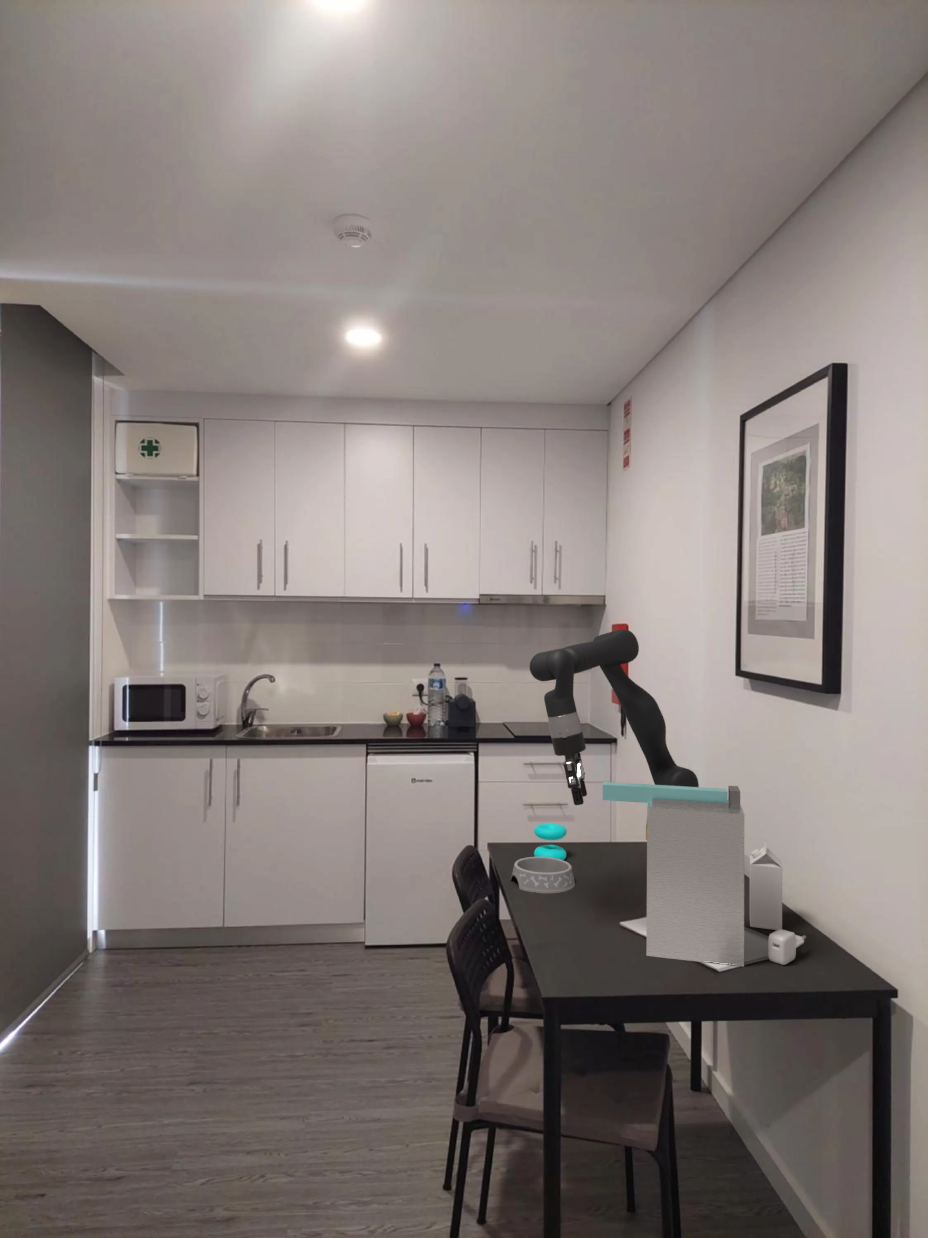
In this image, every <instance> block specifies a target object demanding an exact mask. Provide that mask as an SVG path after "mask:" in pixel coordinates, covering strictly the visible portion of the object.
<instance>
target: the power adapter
mask: <svg viewBox="0 0 928 1238" xmlns="http://www.w3.org/2000/svg"><path fill="white" fill-rule="evenodd" d="M767 938H768V941H767V943H768V944H767V946H768V947H767V952H768V953H767V957H768V960H769V961H770V962H773V963H775V964H777V965H779V964H780V965H782V966H783V965H784V966H785V965H787V964H790V963H791V962H793V961H794V960H795V959H796V955H797V948H799V947H800V946H802V945H804V943H805V939H807V936H806V935H802V936H800V935H797V934H795V932H794V931H789V930H786V929H783V928H782V929H779V930H774V931H773V932H772V933H769V936H768V937H767Z"/></svg>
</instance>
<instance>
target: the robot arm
mask: <svg viewBox="0 0 928 1238" xmlns="http://www.w3.org/2000/svg"><path fill="white" fill-rule="evenodd" d="M639 649H640V645H639V641H638V639H637V637H636V635H635V634H634V633H633V632H632V631H630V630H628V629H616V630H613V631H609V632H606V633H602V634H600V635H597V636H595V637H594V639H593V640H592V641H589V642H588V641H587V642H581V643H577V644H576V643H575V644H572V645H569V646H564V647H563V648H555V649H553V650H552V649H551V650H548V651H547V650H546V651H542V652H538V653H536V654H535V655H533V657H532V658H531V660H530V662H529V672H530V674H531V676H532V677H533V678H534V679H535V680H537V681H539V682H549V681H555V686H554V689H552V690H550V691H548V692H546V693H545V694H544V697H543V701H544V705H545V711H546V715H547V719H548V722H547V723H548V729H549V734H550V737H551V744H552V747H553V753H554V755H556V756H558V757H562V756H564V759H565V760H564V762H563V764H562V766H563V769H564V772H565V773H564V774H565V778H566V784H567V788H568V789H569V790H571V791H570V792H571V795H572V802H573V805H574V806H580V805H581V806H582V805H584V802H585V800H584V797H587V795H588V792H587V788H586V787H587V786H586V782H585V778H586V777H585V775H586V773H585V769H584V766H583V759H582V755H581V753H582V752H584V751H586V747H587V746H586V740H585V737H584V733H583V729H582V724H581V720H580V717H579V714H578V711H577V706H576V702H575V697H574V681H575V680H574V677H575V675H576V674H579V673H583V672H585V671H588V670H592V669H594V668H596V667H600V669H601V671H602V673H603V675H604V677H605V678H606V680H607V681H608V683H609V685H610V687H612V690H613V692H614V693H615V696H616V698H617V701H618V702H619V704H620V706H621V709H622V710H623V713H624V715H625V718H626V720H627V722H628V724H629V726H630V728H631V730H632V733H633V735H634V736H635V738H636V741H637V743H638V745H639V748H640V749H641V751H642V753H643V755H644V757H645V758H644V759H646V763H647V766H648V768H649V772H650V775H651V778H652V780H653V783H654V784H653V785H668V786H685V787H700V786H699V785H700V784H699V779H698V776H697V774H696V773H695V772H694V771H693V770H691V769H690V768H686V767H682V766H679V765H677V764H676V762H675V760H674V759H673V756H672V755H671V752H670V750H669V749H668V746H667V737H666V735H667V727H666V726H667V725H666V721H665V718H664V716H663V713H662V711H661V708H660V706H659V704H658V703H657V701H656V699H655V698H654V697H653V696H652V695H651V694H650V693H649V692H648V691H647V690H645V689H644V688H642V687H641V686H640V685H638V684H637V683H636V682H634V681H633V680H632V679H631V678H630V677H629V675H627V673H626V671H625V670H624V669H623V667H622V665H624V664H625V665H626V664H630V663H631V662H632V661H634V660H635V659H636V658H637V657H638V655H639V651H640V650H639Z"/></svg>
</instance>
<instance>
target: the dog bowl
mask: <svg viewBox="0 0 928 1238" xmlns="http://www.w3.org/2000/svg"><path fill="white" fill-rule="evenodd" d="M573 871H574V870H573V866H572V864H570V863H569V862H567V861H565V860H560V859H556V858H550V857H535V856H529V857H524V858H519V859H517V860H516V861H515V862H514V864H513V869H512V873H511V877H510V880H509V881H510V882H511V881H512V879H513V878H515V879H516V880H517V883H518V889H519V890H521V891H524V892H529V893H535V892H536V894H537V893H538V894H558V893H563V892H564V893H565V892H568V891H570V890H572V889H574V887H575V886H576V882H575V877H574V872H573Z"/></svg>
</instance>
